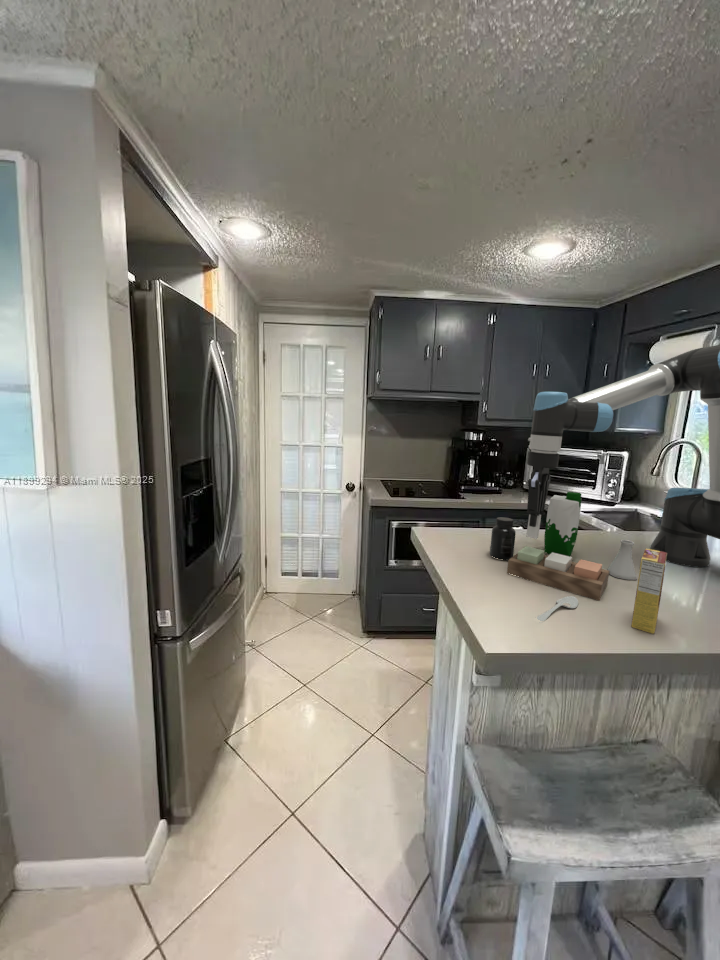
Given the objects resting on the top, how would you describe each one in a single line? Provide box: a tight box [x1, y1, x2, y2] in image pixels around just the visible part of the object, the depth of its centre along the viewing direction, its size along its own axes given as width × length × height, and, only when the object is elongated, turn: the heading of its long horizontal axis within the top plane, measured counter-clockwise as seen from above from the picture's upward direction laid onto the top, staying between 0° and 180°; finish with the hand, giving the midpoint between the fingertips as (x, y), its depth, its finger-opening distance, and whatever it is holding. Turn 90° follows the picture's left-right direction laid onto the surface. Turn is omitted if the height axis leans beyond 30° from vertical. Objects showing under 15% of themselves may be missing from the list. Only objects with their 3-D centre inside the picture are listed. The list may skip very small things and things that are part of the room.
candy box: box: [630, 548, 667, 635], centre depth 83 cm, size 9×4×15 cm, turn 140°
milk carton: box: [543, 491, 582, 557], centre depth 125 cm, size 9×9×20 cm
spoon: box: [536, 595, 579, 622], centre depth 87 cm, size 4×21×2 cm, turn 127°
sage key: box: [517, 545, 545, 564], centre depth 109 cm, size 5×7×4 cm
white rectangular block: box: [544, 552, 573, 572], centre depth 104 cm, size 5×7×4 cm
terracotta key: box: [574, 559, 603, 581], centre depth 100 cm, size 5×7×4 cm
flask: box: [606, 539, 638, 581], centre depth 109 cm, size 7×7×10 cm
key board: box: [506, 552, 610, 601], centre depth 105 cm, size 22×12×4 cm, turn 50°
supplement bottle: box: [489, 516, 517, 561], centre depth 119 cm, size 7×7×12 cm
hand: (532, 537), depth 108 cm, fingers closed
